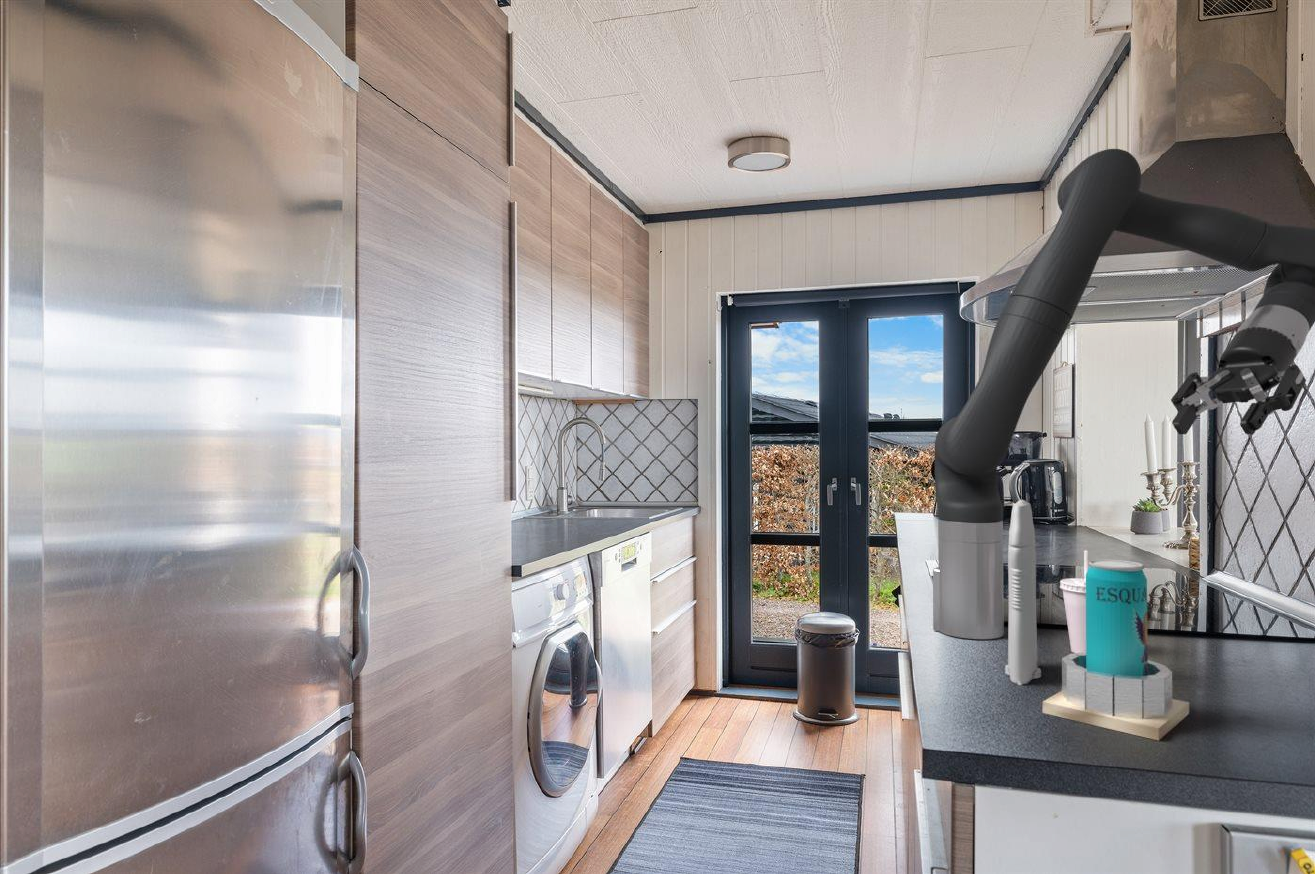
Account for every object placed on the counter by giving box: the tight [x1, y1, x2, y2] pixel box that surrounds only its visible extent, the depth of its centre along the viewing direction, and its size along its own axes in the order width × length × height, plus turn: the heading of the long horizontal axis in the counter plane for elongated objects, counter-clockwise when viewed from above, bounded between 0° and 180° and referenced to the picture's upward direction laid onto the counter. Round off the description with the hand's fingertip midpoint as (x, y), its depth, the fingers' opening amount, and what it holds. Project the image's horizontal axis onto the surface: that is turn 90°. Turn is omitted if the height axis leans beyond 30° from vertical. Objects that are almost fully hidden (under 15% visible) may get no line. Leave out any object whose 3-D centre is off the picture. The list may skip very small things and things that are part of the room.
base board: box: [1042, 690, 1190, 741], centre depth 86 cm, size 11×11×1 cm
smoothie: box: [1059, 549, 1090, 654], centre depth 110 cm, size 6×6×14 cm
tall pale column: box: [1004, 499, 1042, 686], centre depth 100 cm, size 11×4×22 cm, turn 149°
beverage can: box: [1086, 559, 1149, 677], centre depth 86 cm, size 6×6×15 cm
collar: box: [1061, 652, 1173, 719], centre depth 86 cm, size 10×10×4 cm
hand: (1211, 429), depth 104 cm, fingers open, 8 cm apart
